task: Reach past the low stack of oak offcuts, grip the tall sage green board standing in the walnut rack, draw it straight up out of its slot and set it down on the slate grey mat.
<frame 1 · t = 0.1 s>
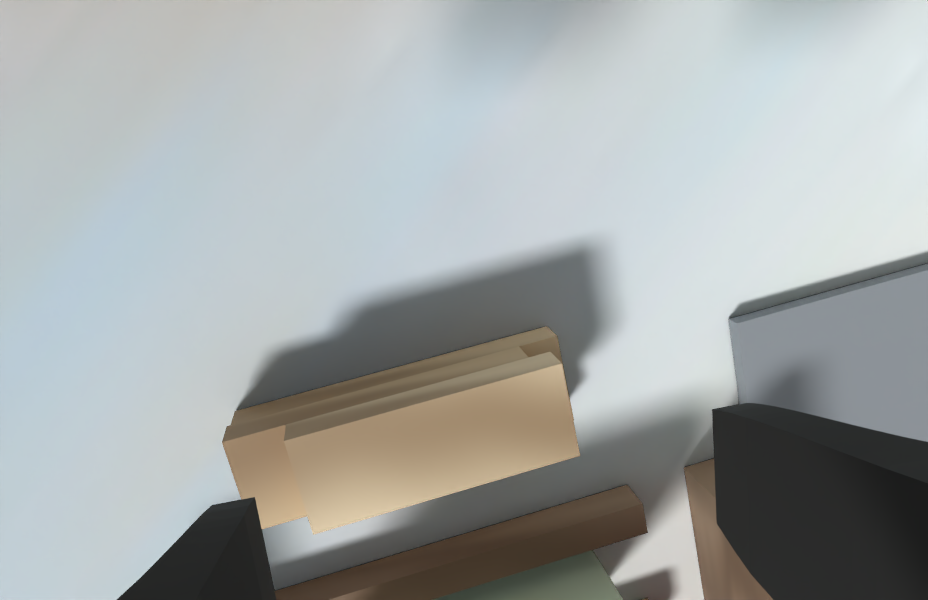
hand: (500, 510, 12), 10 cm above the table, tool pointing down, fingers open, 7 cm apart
offcut stack: (405, 409, 22), on the table
slate mat: (915, 414, 25), on the table
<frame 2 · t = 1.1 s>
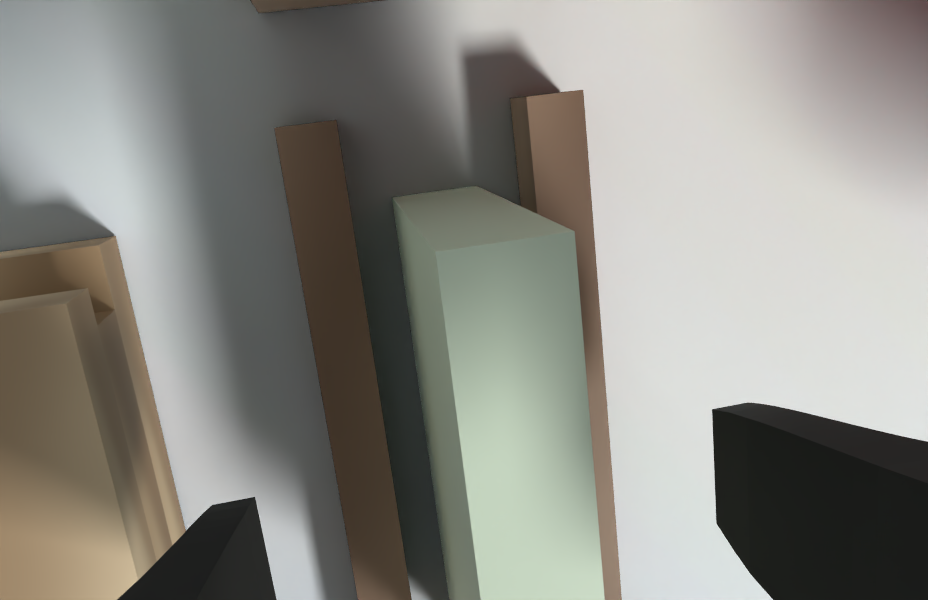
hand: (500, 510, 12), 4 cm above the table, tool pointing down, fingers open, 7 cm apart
offcut stack: (99, 480, 14), on the table
walnut rack: (463, 414, 15), on the table
sage board: (462, 412, 15), resting in walnut rack
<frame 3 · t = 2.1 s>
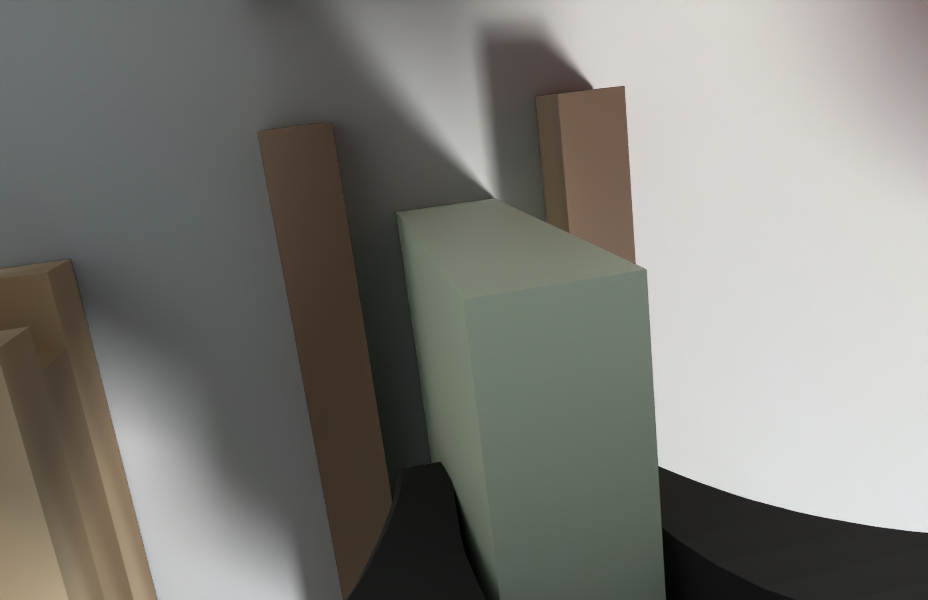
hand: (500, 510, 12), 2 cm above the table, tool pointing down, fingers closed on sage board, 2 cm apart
offcut stack: (55, 543, 12), on the table
walnut rack: (478, 461, 13), on the table
sage board: (477, 461, 13), resting in walnut rack, touching gripper
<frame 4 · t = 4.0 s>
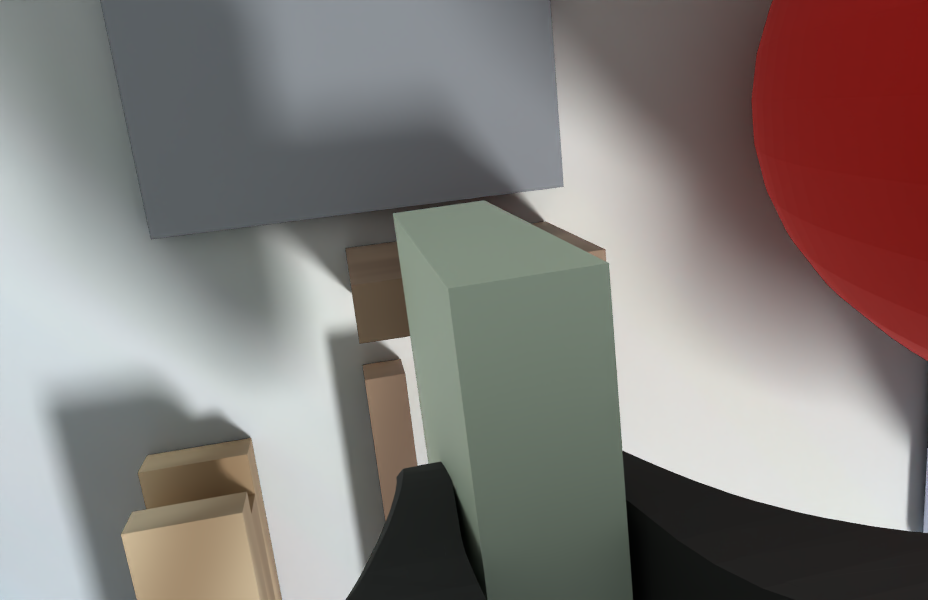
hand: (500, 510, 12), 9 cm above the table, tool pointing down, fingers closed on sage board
offcut stack: (231, 597, 21), on the table
walnut rack: (482, 548, 22), on the table
sage board: (469, 445, 14), point 6 cm above the table, touching gripper
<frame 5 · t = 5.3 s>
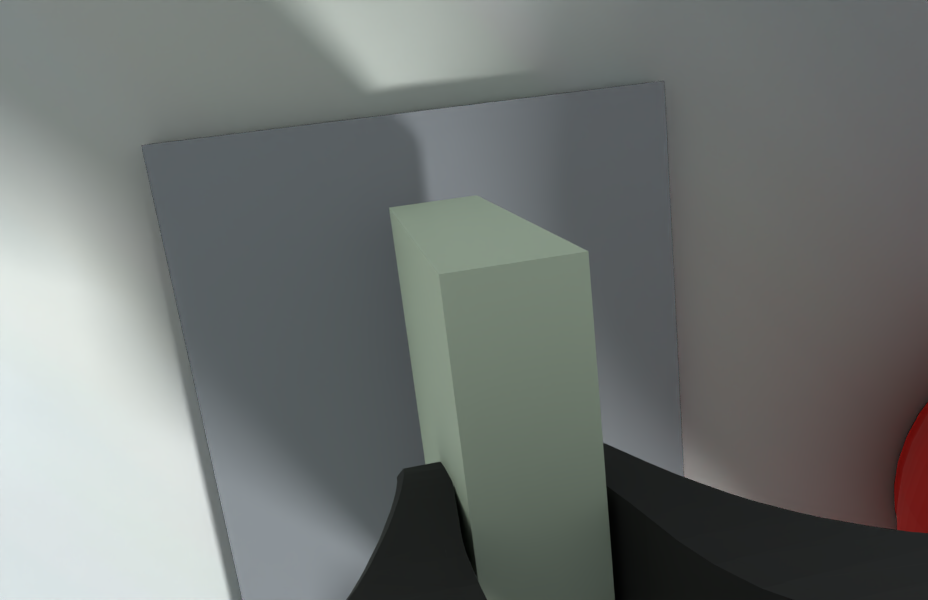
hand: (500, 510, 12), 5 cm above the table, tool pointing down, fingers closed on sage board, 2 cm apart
sage board: (462, 431, 15), point 2 cm above the table, touching gripper
slate mat: (450, 396, 16), on the table
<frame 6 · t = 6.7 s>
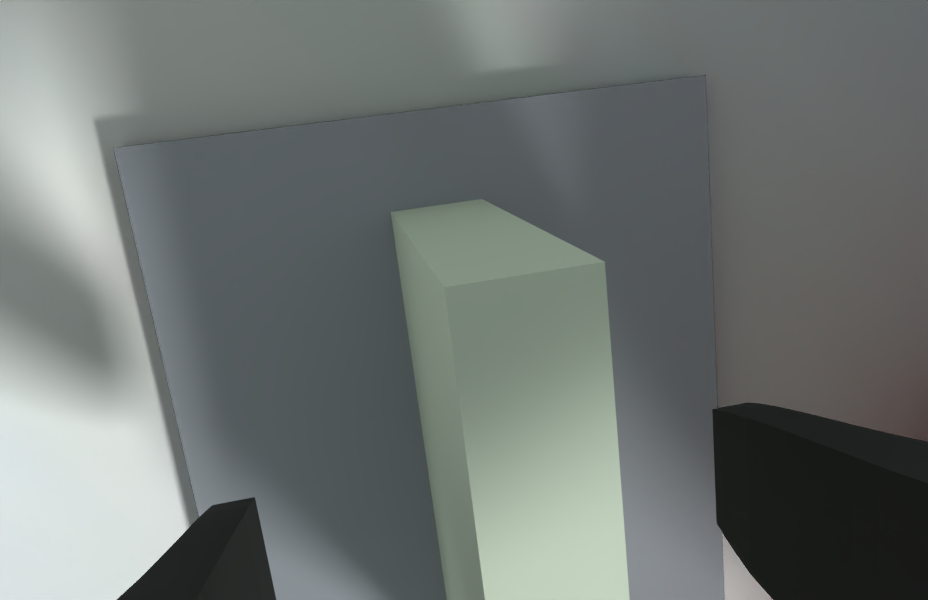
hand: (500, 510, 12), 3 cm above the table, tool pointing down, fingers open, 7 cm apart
sage board: (467, 444, 14), resting on slate mat
slate mat: (463, 428, 15), on the table
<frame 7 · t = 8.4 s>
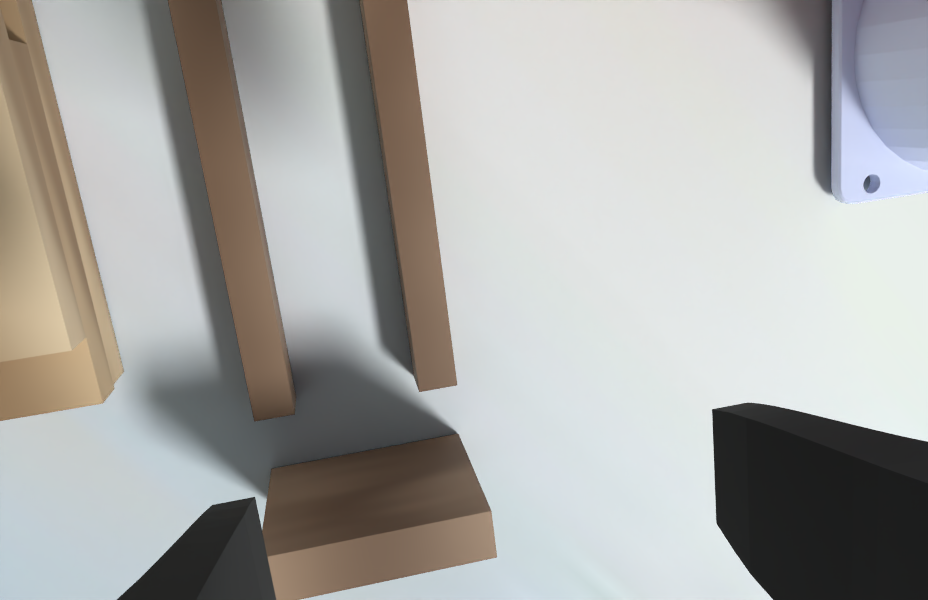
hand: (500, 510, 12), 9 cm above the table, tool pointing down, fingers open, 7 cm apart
offcut stack: (22, 203, 18), on the table
walnut rack: (318, 164, 19), on the table
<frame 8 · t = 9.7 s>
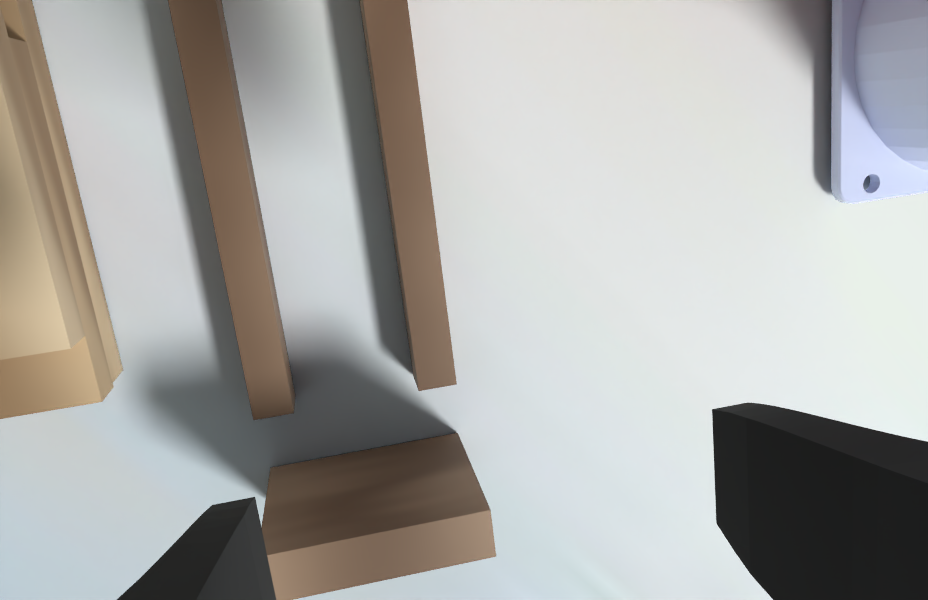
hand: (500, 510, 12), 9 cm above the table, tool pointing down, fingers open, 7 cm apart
offcut stack: (22, 201, 18), on the table
walnut rack: (318, 163, 19), on the table
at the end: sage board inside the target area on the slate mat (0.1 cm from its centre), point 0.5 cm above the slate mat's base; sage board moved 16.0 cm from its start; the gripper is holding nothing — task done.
